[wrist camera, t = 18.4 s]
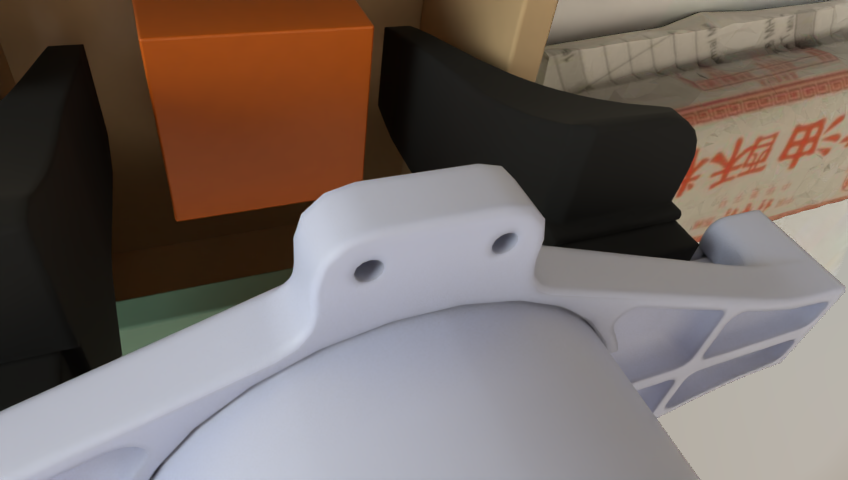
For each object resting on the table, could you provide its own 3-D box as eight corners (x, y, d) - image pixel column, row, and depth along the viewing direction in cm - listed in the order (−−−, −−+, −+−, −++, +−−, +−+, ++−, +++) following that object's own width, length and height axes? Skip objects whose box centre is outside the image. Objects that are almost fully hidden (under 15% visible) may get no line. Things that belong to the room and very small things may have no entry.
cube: (157, 115, 15) (175, 223, 13) (123, -54, 12) (138, 39, 10) (316, 100, 16) (362, 193, 14) (317, -55, 14) (375, 25, 11)
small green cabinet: (-48, 128, 15) (-99, 375, 11) (444, 82, 20) (564, 238, 15) (87, 412, 25) (93, 612, 20) (402, 334, 30) (468, 480, 25)
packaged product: (543, 329, 24) (610, 116, 17) (489, 246, 27) (527, 36, 20) (869, 226, 30) (1023, 31, 22) (793, 166, 33) (907, -22, 26)
